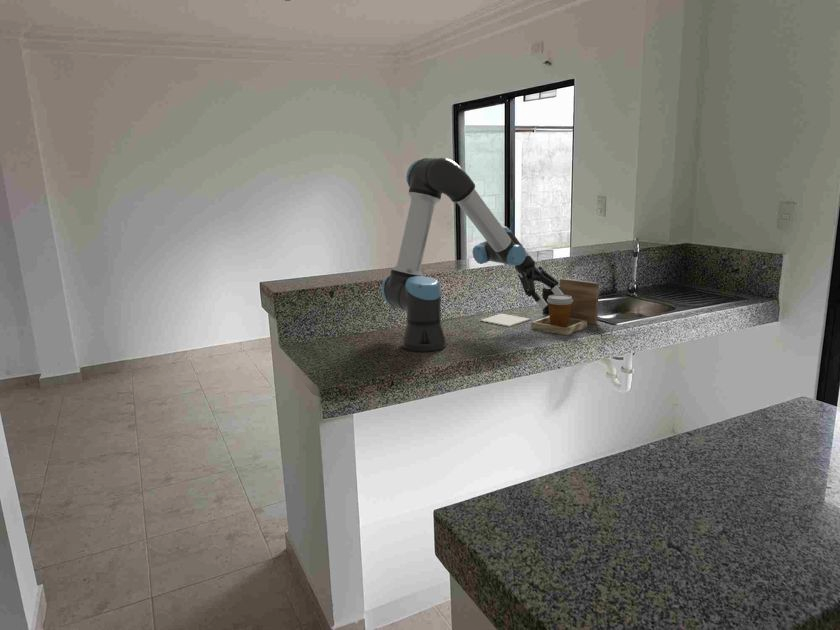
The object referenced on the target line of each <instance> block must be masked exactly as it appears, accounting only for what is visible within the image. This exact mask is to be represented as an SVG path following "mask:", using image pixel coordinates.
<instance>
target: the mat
mask: <svg viewBox="0 0 840 630" xmlns="http://www.w3.org/2000/svg"><path fill="white" fill-rule="evenodd" d="M530 319H531V318H529V317H523V316H517V315H513V314H512V315H510V314H506V313H498V314H495V315H491V316H489V317H486V318H483V319H482V318H481V319H480V322H481V321H483V323H486V322H488V323H487V324H491V323H493V324H492V325H496V324H497V325H496V326H501V325H502V327H506V326H507V327H508V328H511V327H514V326H517V325H519V324H522V323H525V322H528V321H531V320H530Z"/></svg>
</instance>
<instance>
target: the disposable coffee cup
mask: <svg viewBox="0 0 840 630" xmlns="http://www.w3.org/2000/svg"><path fill="white" fill-rule="evenodd" d="M547 301H548V306H549V314H548V316H549V317H550V323H549V325H554V326H559V327H565V328H566V327H569V325H568V322H569V316H570V310H571V304H572V302H573V300H572V297H571V296H568V295H550V296H548V299H547Z"/></svg>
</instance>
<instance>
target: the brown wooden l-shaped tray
mask: <svg viewBox="0 0 840 630" xmlns="http://www.w3.org/2000/svg"><path fill="white" fill-rule="evenodd" d="M559 287H560V290H561V292H562V293H563V294H564V295H568V296H571V297H572V300H573V302H572V304H571V310H570V316H569V322H568V327H566V328H565V327H559V326H554V325H550V317H549V315H548V316H545V317H543V318H540V319H537V320H534V321H531V324H530V326H531V327H530V329H532V330H536V331H541V330H543V331H542V332H546V331H548V332H547V333H552V332H553V333H552V334H557V333H558V335H562V334H563V335H562V336H568V335H571V334H573V333H576V332H578V331H581V330H584V329H585V327H586V328H588V324H589V323H591V325H597V324H598V311H599V310H598V309H599V293H600V292H599V291H600V283H599V282H593V281H587V280H586V281H585V280H577V279H569V278H560V279H559ZM548 323H549V324H548ZM596 323H597V324H596Z"/></svg>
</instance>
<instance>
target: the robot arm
mask: <svg viewBox="0 0 840 630" xmlns="http://www.w3.org/2000/svg"><path fill="white" fill-rule="evenodd" d="M405 178H406V183H407V185H408V187H409V188H408V192H407V193H408V196H409V197H410V205H409V208H408V211H407V212H408V213H407V218H406V222H405V226H404V231H403V236H402V238H401V239H402V240H401V245H400V250H399V254H398V259H397V263H396V265H395V266H393V267H391V270H390V274H389V275H388V276H387V277H386V278H384V280H383V282H382V285H381V295H382V298H383V300H384V301H385V303H387V305H389V306H391V307H393V309H397V310H398V309H399V310H401V311H404V312H406V327H405V329H404V330H405V331H404V333H403V334H404V335H403V337H402V342H401V343H402V348H404V349H406V350H408V351H411V352H420V353H421V352H424V353H425V352H435V351H439V350H442V349H444V348H446V346H447V337H446V336H445V334H444V329H443V327H442V317H441V316H442V314H441V312H442V305H441V304H442V302H441V298H442V297H441V296H442V291H441V284H440V281H439V280H437V279H436V278H433V277H431V276H424V275H423V273H422V271H421V269H422V262H423V258H424V253H425V251H426V250H425V249H426V245H427V241H428V236H429V234H430V233H429V232H430V228H431V223H432V218H433V214H434V210H435V205H436V204H438V203H439V202H440V201H441V198H442V194H444V195H445V196H447V197H448V198H449V199H450V201H451V202H452V203H455V204H457V205H458V206H459V208H460V209H461V210H462V211H463V212H464V214H465V215H466V216H467V218H468V219H469V221H471V222H472V224H473V226H474V227H475V228H476V229H477V230H478V232H479V233H480V234H481V236H482V237H483V238H484V239H485V241H483V242H480V243H479V244H477V245H475V246H474V247H473V248H472V251H471V252H472V256H473V259H474V261H475V262H476V263H478V264H480V265H482V264H483V265H484V264H487V263H488V262H491V263H492V262H493V263H499V264H504V265H508V266H513V267H514V268H515V271H516V272H517V273H518V275H517V277H518V279H519V280H520V282H521V286H522V288H523V291H524V294H525V295H526V296H528V297H529V298H531V297H532V298H533V300H534V301H535V302H536V303H537V305H538V306H539V307H540V309H541V310H543V309H544V308H545V307H546V306H547V305H548V304H547V303H546V302H545V300H544V299H543V298H542V294H540V293H539V291H538V290H537V291H536V285H535V282H540V283H542V284H543V285H545V286H547V287H548V288H549V289H551V288H552V292H553V293H554V294H555V295H564V294H563V293H562V292H561V290H560V289H559V288H558V287H559V286H558V285H559V284H560V281H558V280H557V279H556V278H555V277H553V275H551V274H549V273H548V272H547V271H545V270H544V268H543V267H542V266H538V268H537V267H536V266H535V265H536V261H535V260H534V259H533V258H532V256H531V255H530V254H529V252H528V251H527V250H526V247H524V246H523V244H521V242H520V241H519V239H518V238H517V237H516V235H515V234H514V232H513V231H512V230H511V229H510V228H509V227H508V226H502V224H501V223H500V221H498V219H497V217H496V216H495V215H494V214H493V212H492V211H491V210H490V208H489V206H488V205H487V204H486V203H485V201H484V200H483V199H482V197H481V196H480V194H479V193H478V192H477V191H476V189H475V188H476V184H475V182H474V180H472V178H471V177H470V176H469V174H468V173H467V171H465V170H464V169H463V168H462V167H461V166H460V165H459V164H458V163H457V162H456V161H454V160H452V159H449V158H446V157H438V158H437V157H436V158H435V157H433V158H432V157H431V158H428V157H426V158H425V157H424V158H422V159H417V160H415V161H413V162H412V163H411V164H410V165H409V167H408V169H407V171H406V177H405Z"/></svg>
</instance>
